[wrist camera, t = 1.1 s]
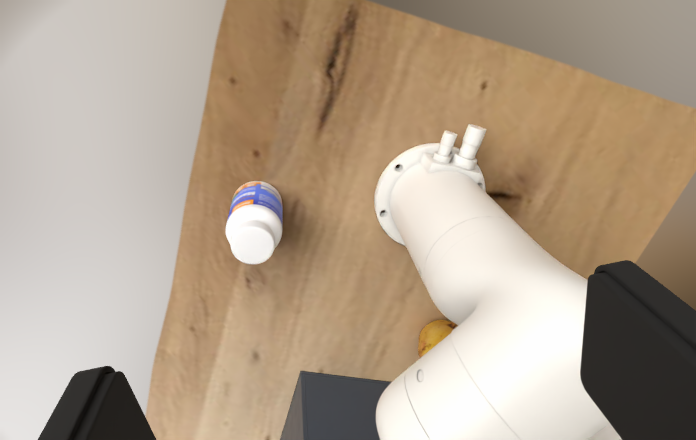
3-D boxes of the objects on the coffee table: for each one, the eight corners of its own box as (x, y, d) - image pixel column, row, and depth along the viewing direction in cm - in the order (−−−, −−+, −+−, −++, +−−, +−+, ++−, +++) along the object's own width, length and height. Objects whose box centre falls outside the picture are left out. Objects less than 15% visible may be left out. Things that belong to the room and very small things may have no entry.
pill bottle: (251, 170, 50) (244, 207, 42) (292, 198, 52) (294, 239, 44) (222, 208, 52) (209, 251, 43) (263, 233, 54) (259, 280, 45)
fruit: (438, 321, 55) (405, 386, 58) (494, 342, 55) (458, 406, 58) (435, 292, 61) (405, 353, 65) (484, 311, 61) (452, 370, 65)
